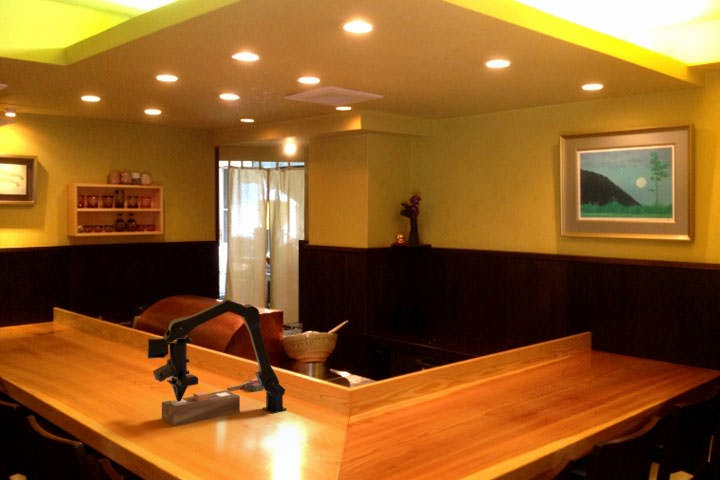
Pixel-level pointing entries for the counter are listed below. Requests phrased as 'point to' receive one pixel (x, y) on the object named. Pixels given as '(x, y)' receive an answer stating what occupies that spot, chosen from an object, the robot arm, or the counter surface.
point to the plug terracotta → (201, 396)
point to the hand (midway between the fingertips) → (178, 401)
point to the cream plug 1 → (178, 402)
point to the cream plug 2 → (223, 394)
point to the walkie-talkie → (249, 386)
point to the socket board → (200, 409)
